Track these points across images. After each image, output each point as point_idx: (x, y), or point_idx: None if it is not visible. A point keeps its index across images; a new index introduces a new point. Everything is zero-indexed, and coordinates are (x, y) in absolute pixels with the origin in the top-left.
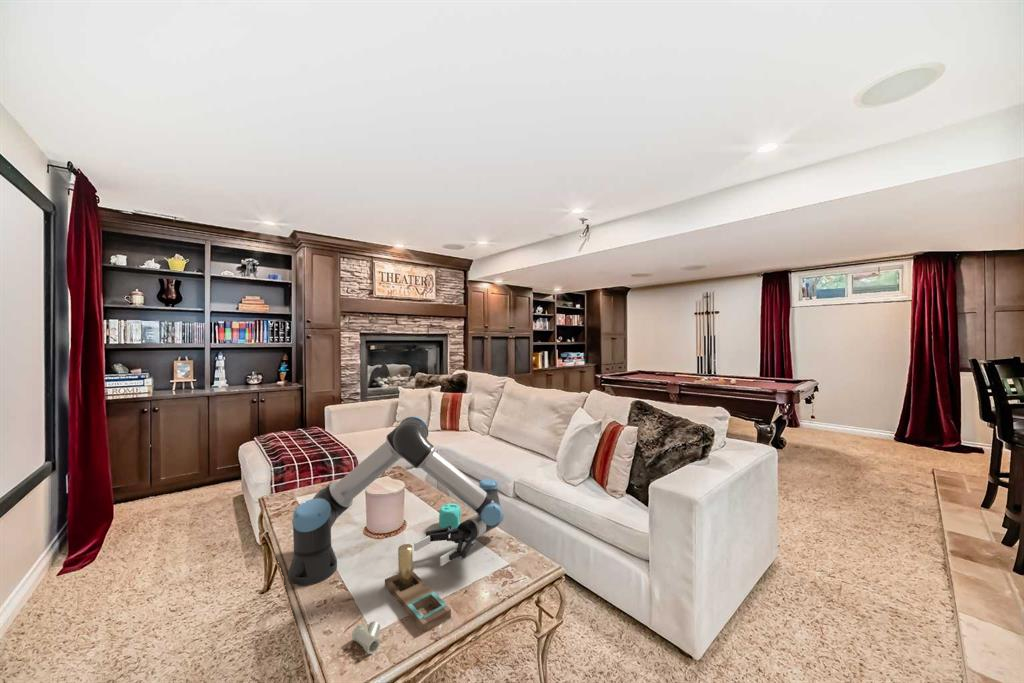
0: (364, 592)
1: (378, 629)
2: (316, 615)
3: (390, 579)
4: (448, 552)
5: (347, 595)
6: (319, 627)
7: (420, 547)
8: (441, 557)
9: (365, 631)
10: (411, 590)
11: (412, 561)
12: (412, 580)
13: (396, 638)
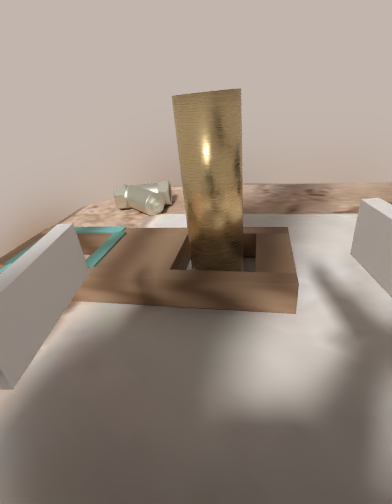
0: (296, 225)
1: (138, 202)
2: (281, 188)
3: (272, 233)
4: (25, 263)
5: (310, 210)
6: (246, 188)
7: (375, 269)
8: (60, 226)
9: (144, 184)
10: (163, 246)
11: (189, 175)
12: (195, 252)
13: (104, 225)
